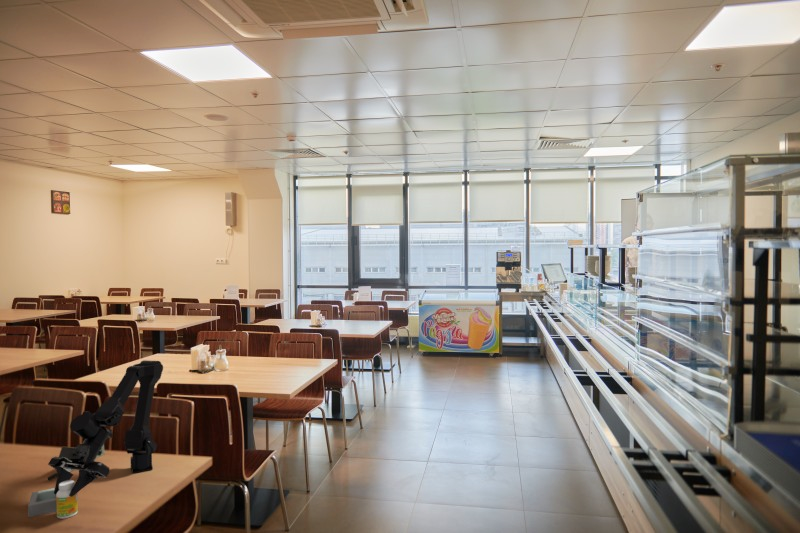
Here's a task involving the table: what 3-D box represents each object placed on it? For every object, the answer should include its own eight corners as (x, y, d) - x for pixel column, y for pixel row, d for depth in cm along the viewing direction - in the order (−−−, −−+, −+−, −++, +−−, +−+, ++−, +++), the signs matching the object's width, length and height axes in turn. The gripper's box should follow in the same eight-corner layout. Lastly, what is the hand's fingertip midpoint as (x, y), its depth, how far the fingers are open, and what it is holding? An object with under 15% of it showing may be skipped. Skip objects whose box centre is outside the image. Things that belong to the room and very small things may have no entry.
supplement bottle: (55, 520, 152) (54, 488, 152) (58, 512, 157) (57, 481, 157) (77, 516, 155) (76, 484, 154) (78, 508, 160) (77, 477, 159)
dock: (69, 495, 168) (69, 485, 168) (67, 508, 159) (67, 497, 159) (32, 503, 163) (31, 492, 163) (28, 517, 154) (28, 506, 154)
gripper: (52, 431, 161) (19, 481, 151) (101, 436, 156) (70, 488, 146) (74, 446, 169) (45, 495, 159) (121, 452, 164) (94, 502, 154)
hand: (62, 495), depth 154 cm, fingers closed on supplement bottle, 5 cm apart
